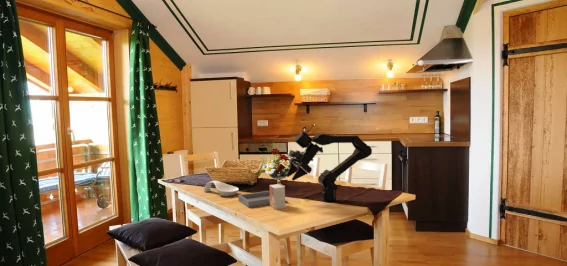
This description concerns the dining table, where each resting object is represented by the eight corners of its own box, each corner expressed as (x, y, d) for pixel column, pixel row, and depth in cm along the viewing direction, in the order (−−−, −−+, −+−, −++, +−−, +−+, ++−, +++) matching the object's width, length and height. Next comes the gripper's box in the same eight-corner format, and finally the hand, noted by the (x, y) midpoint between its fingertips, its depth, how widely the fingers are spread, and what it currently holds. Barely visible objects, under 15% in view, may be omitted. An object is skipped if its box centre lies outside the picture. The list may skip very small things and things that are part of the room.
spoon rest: (243, 194, 215) (242, 181, 214) (229, 198, 205) (228, 186, 205) (213, 189, 228) (213, 178, 228) (199, 194, 219) (198, 181, 218)
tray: (273, 195, 208) (272, 190, 208) (285, 202, 194) (285, 196, 194) (238, 200, 200) (238, 194, 200) (248, 207, 186) (248, 201, 185)
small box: (269, 205, 188) (269, 184, 188) (280, 204, 190) (279, 183, 189) (274, 209, 181) (273, 188, 180) (285, 208, 183) (284, 186, 182)
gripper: (291, 142, 196) (273, 165, 194) (303, 145, 179) (283, 171, 176) (307, 155, 199) (288, 178, 197) (320, 160, 181) (300, 185, 179)
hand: (289, 178), depth 188 cm, fingers open, 9 cm apart
